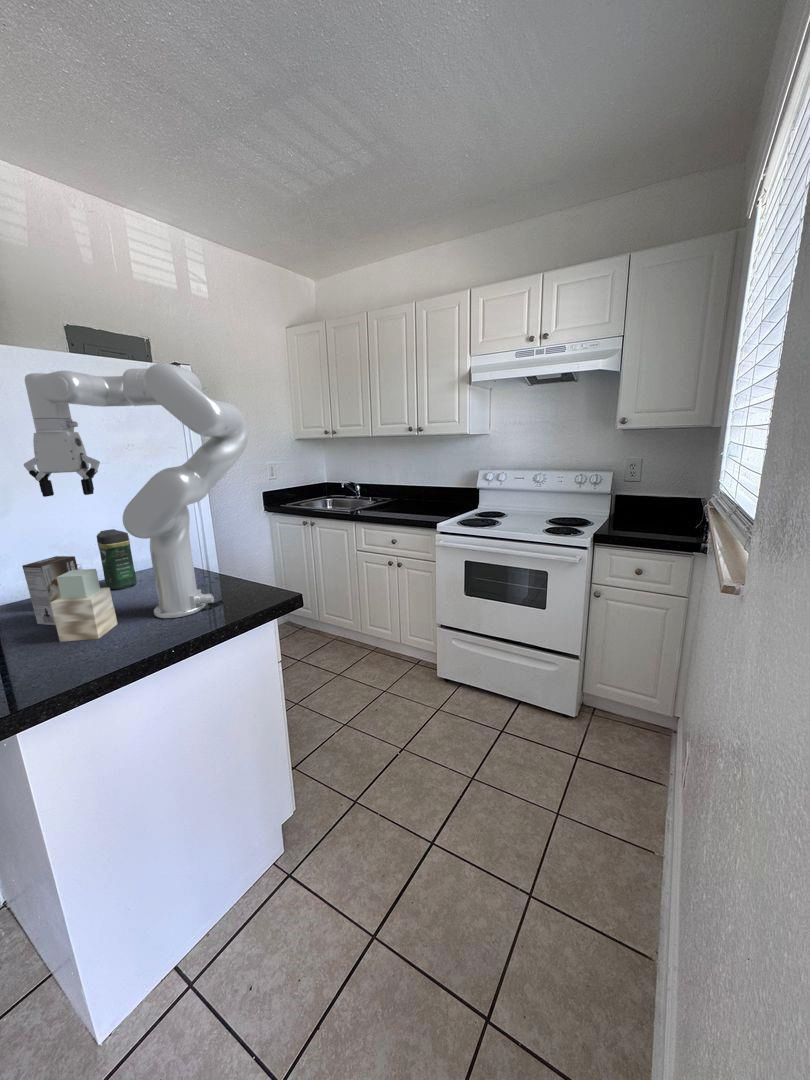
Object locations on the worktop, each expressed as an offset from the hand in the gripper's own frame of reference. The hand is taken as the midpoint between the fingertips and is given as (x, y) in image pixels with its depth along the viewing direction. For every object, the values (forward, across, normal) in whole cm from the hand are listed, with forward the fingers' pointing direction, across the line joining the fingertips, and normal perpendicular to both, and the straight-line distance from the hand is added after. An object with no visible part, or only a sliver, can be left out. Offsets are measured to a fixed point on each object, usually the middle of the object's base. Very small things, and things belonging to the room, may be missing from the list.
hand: (68, 495), depth 111 cm
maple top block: (+28, -7, +14) cm, 32 cm away
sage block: (+22, -7, +14) cm, 27 cm away
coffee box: (+32, +6, +3) cm, 33 cm away
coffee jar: (+32, +4, -23) cm, 40 cm away
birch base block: (+32, -7, +14) cm, 36 cm away
